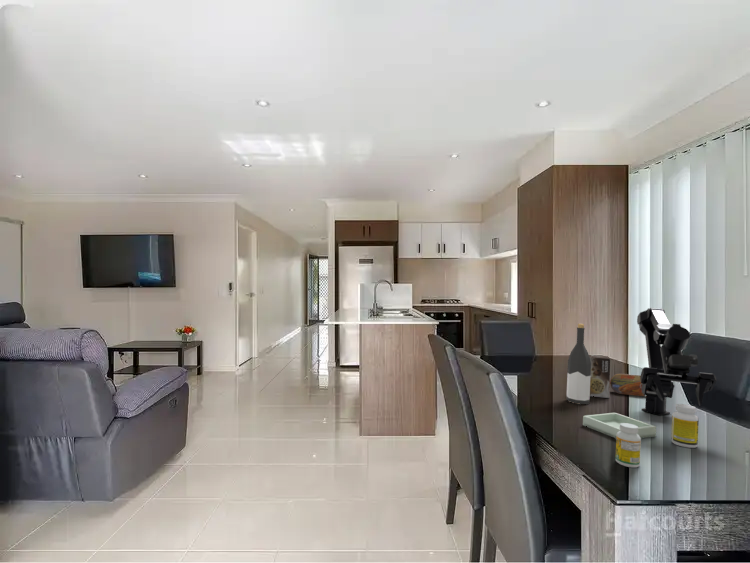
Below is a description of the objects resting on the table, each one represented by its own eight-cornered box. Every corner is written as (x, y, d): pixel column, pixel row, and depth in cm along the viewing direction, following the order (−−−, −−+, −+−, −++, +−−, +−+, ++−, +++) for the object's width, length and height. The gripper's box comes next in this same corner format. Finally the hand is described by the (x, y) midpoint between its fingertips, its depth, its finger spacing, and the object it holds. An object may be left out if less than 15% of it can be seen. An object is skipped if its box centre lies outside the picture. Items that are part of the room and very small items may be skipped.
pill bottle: (702, 449, 120) (703, 410, 120) (677, 447, 121) (679, 408, 121) (690, 441, 126) (692, 404, 126) (667, 439, 127) (668, 402, 127)
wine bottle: (590, 401, 167) (593, 324, 167) (588, 406, 160) (591, 325, 160) (568, 397, 171) (571, 322, 171) (564, 402, 164) (567, 323, 164)
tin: (610, 392, 182) (610, 372, 182) (609, 391, 185) (609, 371, 185) (651, 397, 177) (652, 377, 177) (649, 395, 180) (650, 375, 180)
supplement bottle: (637, 470, 105) (639, 430, 105) (613, 463, 108) (614, 425, 108) (641, 463, 109) (643, 425, 109) (617, 457, 112) (619, 420, 112)
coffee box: (606, 394, 178) (608, 355, 178) (609, 398, 172) (611, 358, 172) (582, 392, 181) (583, 353, 181) (584, 395, 175) (586, 356, 175)
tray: (614, 421, 142) (615, 412, 142) (655, 436, 129) (656, 426, 129) (582, 425, 137) (583, 415, 137) (622, 441, 124) (622, 430, 124)
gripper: (643, 341, 136) (649, 383, 126) (715, 347, 129) (728, 391, 119) (637, 362, 143) (643, 403, 133) (705, 368, 136) (717, 412, 126)
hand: (681, 402), depth 127 cm, fingers open, 9 cm apart
